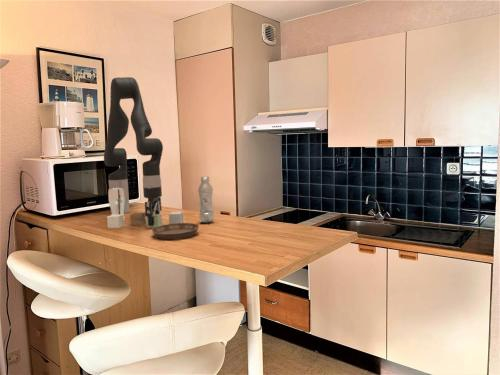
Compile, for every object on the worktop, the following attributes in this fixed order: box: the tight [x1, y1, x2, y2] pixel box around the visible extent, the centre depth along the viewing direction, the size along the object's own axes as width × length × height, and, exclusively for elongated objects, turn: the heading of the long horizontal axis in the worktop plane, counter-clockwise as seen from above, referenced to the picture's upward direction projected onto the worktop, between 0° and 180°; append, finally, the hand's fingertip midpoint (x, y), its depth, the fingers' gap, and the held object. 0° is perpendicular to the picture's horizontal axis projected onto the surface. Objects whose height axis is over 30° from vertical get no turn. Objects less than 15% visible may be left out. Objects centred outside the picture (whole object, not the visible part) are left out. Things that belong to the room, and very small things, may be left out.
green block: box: [146, 213, 163, 229], centre depth 168 cm, size 5×5×5 cm
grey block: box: [168, 211, 185, 224], centre depth 172 cm, size 5×5×5 cm
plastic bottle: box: [197, 176, 215, 224], centre depth 172 cm, size 6×7×20 cm
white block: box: [106, 214, 125, 229], centre depth 170 cm, size 5×5×5 cm
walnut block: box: [129, 211, 147, 227], centre depth 173 cm, size 5×5×5 cm
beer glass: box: [107, 188, 126, 221], centre depth 182 cm, size 7×7×15 cm
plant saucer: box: [151, 222, 200, 240], centre depth 152 cm, size 18×18×3 cm
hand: (154, 223), depth 169 cm, fingers open, 8 cm apart
